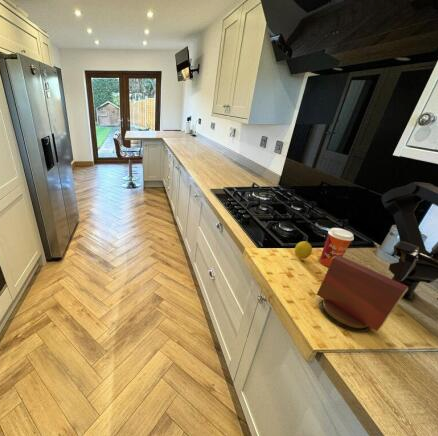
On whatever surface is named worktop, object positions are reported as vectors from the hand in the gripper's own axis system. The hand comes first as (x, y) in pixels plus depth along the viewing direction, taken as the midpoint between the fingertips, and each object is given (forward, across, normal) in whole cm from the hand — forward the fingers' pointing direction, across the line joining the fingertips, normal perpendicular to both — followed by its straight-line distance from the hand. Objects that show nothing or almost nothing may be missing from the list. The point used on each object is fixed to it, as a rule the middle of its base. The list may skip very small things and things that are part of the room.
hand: (418, 289), depth 61 cm
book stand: (+16, -7, +1) cm, 18 cm away
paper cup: (+1, -26, +17) cm, 31 cm away
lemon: (+7, -32, +12) cm, 34 cm away
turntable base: (+16, -7, +1) cm, 18 cm away
